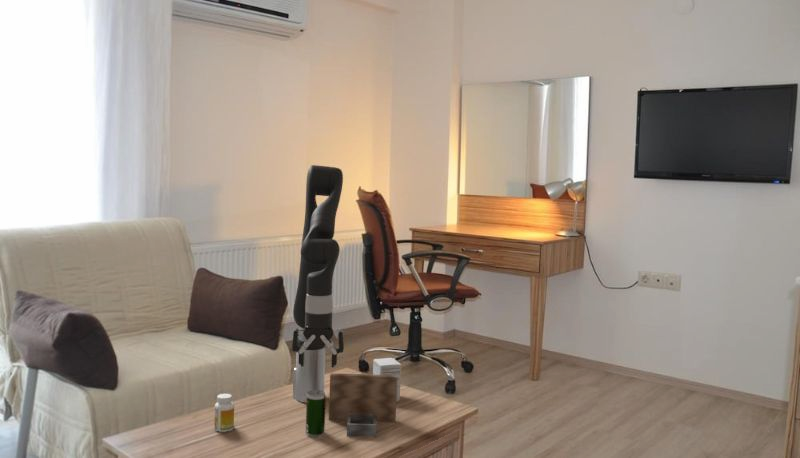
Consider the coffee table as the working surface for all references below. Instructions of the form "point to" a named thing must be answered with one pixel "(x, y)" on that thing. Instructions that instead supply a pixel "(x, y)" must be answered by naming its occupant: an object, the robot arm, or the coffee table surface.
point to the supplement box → (388, 370)
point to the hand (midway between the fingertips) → (317, 366)
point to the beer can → (315, 413)
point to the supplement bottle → (224, 413)
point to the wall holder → (362, 401)
